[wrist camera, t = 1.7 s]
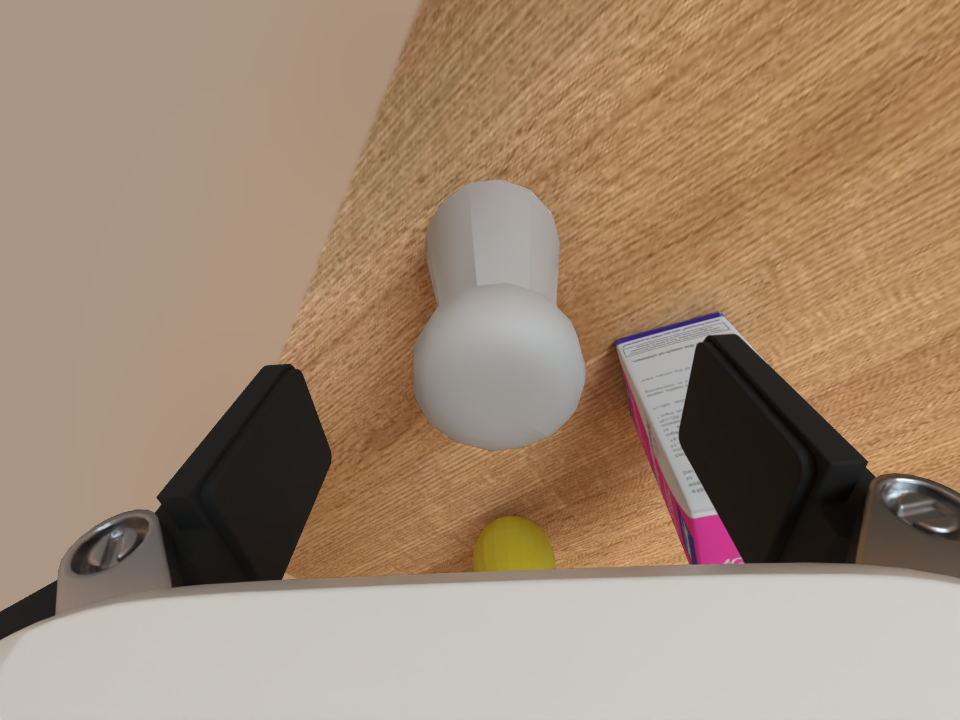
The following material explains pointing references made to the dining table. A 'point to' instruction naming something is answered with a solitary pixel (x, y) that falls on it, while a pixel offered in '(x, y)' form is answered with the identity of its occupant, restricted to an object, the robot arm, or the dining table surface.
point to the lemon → (512, 546)
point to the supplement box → (675, 428)
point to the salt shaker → (496, 322)
